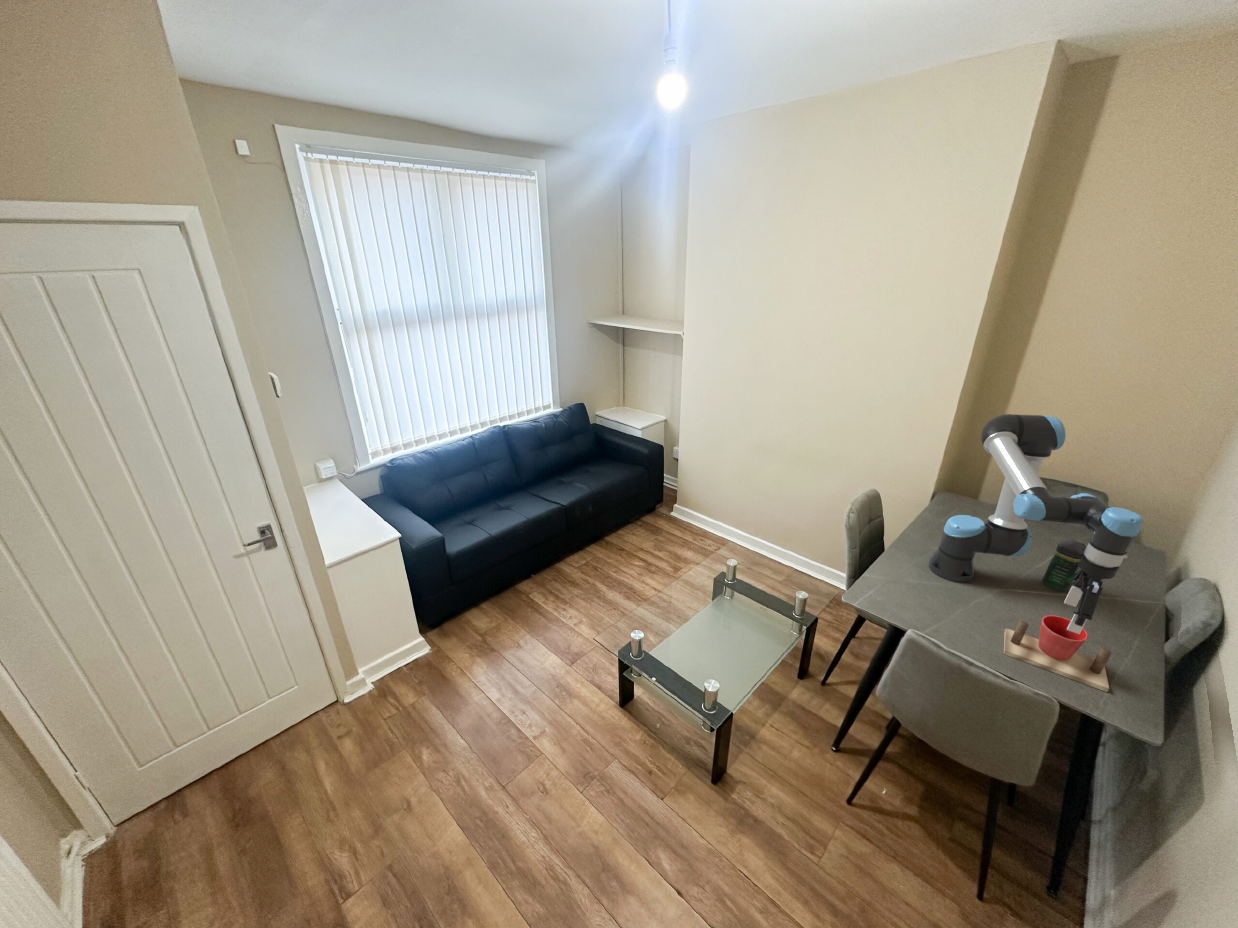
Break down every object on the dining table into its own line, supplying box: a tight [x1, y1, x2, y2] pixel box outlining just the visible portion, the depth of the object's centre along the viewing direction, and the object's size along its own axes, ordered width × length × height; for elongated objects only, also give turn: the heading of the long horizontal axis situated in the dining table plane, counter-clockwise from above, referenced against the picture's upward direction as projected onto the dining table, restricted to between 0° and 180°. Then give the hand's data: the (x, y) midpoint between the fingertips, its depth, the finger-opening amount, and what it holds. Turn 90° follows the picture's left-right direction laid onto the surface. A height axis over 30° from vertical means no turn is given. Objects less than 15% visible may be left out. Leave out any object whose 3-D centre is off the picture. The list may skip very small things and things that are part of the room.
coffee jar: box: [1041, 538, 1087, 592], centre depth 175 cm, size 10×8×19 cm
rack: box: [1003, 620, 1113, 693], centre depth 145 cm, size 24×12×10 cm, turn 52°
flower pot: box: [1038, 614, 1089, 660], centre depth 146 cm, size 11×11×10 cm
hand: (1071, 617), depth 141 cm, fingers open, 13 cm apart
